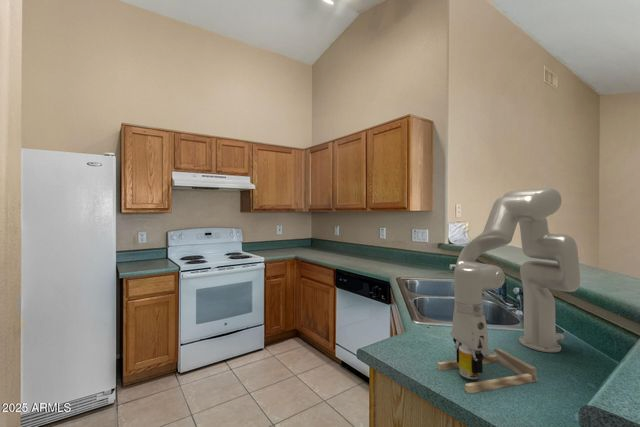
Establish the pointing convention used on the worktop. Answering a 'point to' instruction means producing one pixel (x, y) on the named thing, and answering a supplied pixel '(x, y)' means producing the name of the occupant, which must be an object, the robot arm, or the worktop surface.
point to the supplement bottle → (466, 362)
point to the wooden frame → (514, 364)
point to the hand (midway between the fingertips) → (469, 366)
